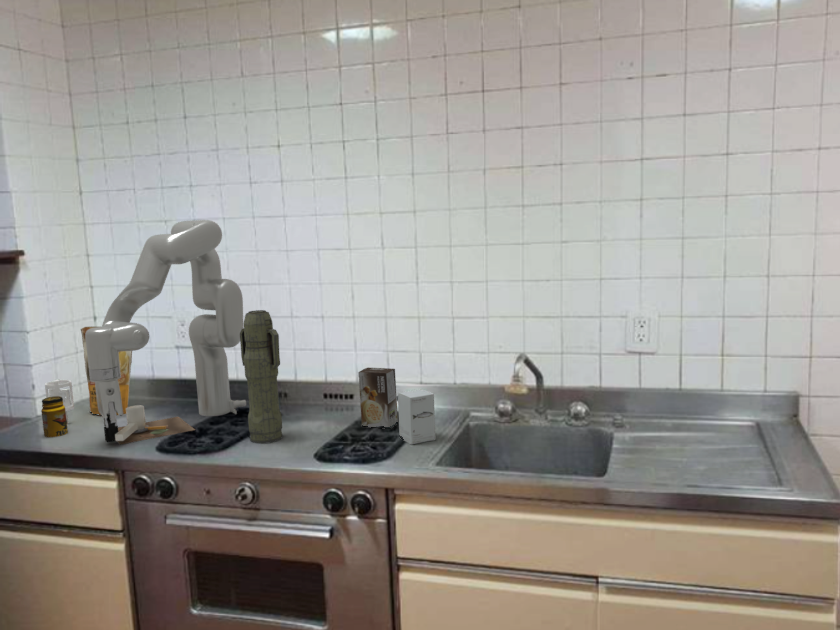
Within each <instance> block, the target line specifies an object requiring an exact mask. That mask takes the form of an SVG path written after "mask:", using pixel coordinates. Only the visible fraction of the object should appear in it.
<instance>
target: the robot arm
mask: <svg viewBox="0 0 840 630" xmlns="http://www.w3.org/2000/svg"><path fill="white" fill-rule="evenodd" d="M222 239H223V231H222V229H221V227H220V225H219V224H218V223H216V222H215V221H213V220H209V219H197V220H182V221H178V222H176V223H175V224H173V226H172V227H171V230H170V233H164V234H161V233H160V234H153V235H152V236H150V237H148V238H147V239H146V241H145V243H144V245H143V248H142V250H141V252H140V256H139V258H138V261H137V263H136V265H135V268H134V271H133V274H132V276H131V279H130V281H129V283H128V284H127V285H126V286H125V287H124V288H123V289H122V291H121V292H120V293H119V294H118V295H117V296H116V297H115V299H114V300H113V301H112V303H111V304H110V305H109V308H108V310H107V311H106V315H105V317H104V319H103V322H102V324H101V326H94V327H95V328H91V329H88V330H87V331H86V333H85V339H86V348H87V357H88V366H89V375H90V381H91V382H95V388H96V398H97V405H98V410H99V413H100V414H101V415H102V416H101V417H102V419H103V426H104V427H103V430H104V440H105V442H106V443H107V444H108V443H112V442H117V441H116V440H115V434H116V433H118V427H119V425H118V419H117V417H118V416H120V417H122V416H123V415H124V414H123V407H122V401H121V394H120V388H119V383H118V379H120V378H121V372H120V363H119V352H120V351H132V352H133V351H135V352H136V351H139V350H141V349H143V348H144V347H145V346H146V345H148V343H149V342H150V341H149V340H150V332H149V330H148V329H147V328H146V326H144V325H142V324H141V323H137V322H131V320H132V318H133V316H135V314H136V312H137V311H138V310H139V309H140V308H141V307H142V306H144V305H145V304H147V303H148V302H150V301H152V300H154V299H156V298H157V297H158V296H160V294H161V293H162V292H163V288H164V285H165V283H166V279H167V278H168V275H169V272H170V270H171V268H172V267H171V266H172V265H182V264H187V263H189V262H190V267H191V269H190V270H191V287H192V301H193V304H194V305H195V307H196V308H199V309H201V310H204V311H215V314H209V313H208V314H200V315H198V316H196V317H194V318H193V319H192V320H191V321H190V323H189V326H188V337H189V341H190V344H191V348H192V351H193V358H194V371H195V378H196V379H195V381H196V383H195V384H196V392H197V393H196V394H197V405H198V415H199V416H202V417H218V416H223V415H227V414H229V413H232V414H234V415H237V414H238V413H237V410H236V409H237V408H239V407H240V408H241V407H246V406H247V401H246V399H242V400H240V399H237V400H232V398H231V393H230V392H231V391H230V379H229V367H228V366H229V365H228V357H227V353H226V350H225V348H227V349H230V348H233V347H234V348H235V347H236V346H237V345H239V344H240V332H241V330H242V329H243V328H244V301H243V300H244V299H243V292H242V290H241V288H240V286H239V285H238V284H237V282H236V281H234V280H232V279H229V278H222V268H221V260H220V256H219V254H218V251H217V250H216V248H217V247H218V246H220V244H221V242H222ZM116 412H117V413H118V414H119V415H116Z"/></svg>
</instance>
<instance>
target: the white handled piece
mask: <svg viewBox="0 0 840 630" xmlns="http://www.w3.org/2000/svg"><path fill="white" fill-rule="evenodd" d="M125 416H126V424H127V425H124V426H125V427H124V428H123V429H122V430H120V431H119V432H118V433H116V434H115V440H116V441H115V442H117V441H124V440H125V439H126V438H127V437H129V436H130V435H131V434H134V433H141V432H145V431H147V430H153V429H166V426H154V427H149V426H148V425H146V422H147V421H146V413H145V406H144V405H140V404H136V405H130V406H128V407H127V408H126V414H125Z"/></svg>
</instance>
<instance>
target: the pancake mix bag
mask: <svg viewBox="0 0 840 630" xmlns="http://www.w3.org/2000/svg"><path fill="white" fill-rule="evenodd" d="M95 327H96V326H84V327H82V328H80V332H81V340H82V348H83V358H84V367H85V369H84V370H85V373H86V374H85V375H86V380H87V388H88V393H89V395H88V397H89V412H90V411H91V412H92V413H93V414H99V415H98V416H100V415H101V414H100V413H99V410H98V405H97V398H96V388H95V382H91V381H90V375H89V366H88V357H87V348H86V339H85V333H86V331H87V330H88V329H91V328H95ZM132 359H133V351H120V352H119V363H120V372H121V378H120V379H118V383H119V388H120V394H121V401H122V407H123V415H126V408H127V407H129V396H130V382H131V370H132V362H133V361H132ZM92 413H91V414H92ZM116 415H117V416H120V415H119V414H118V413H117V412H116Z"/></svg>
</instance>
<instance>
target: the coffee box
mask: <svg viewBox="0 0 840 630" xmlns="http://www.w3.org/2000/svg"><path fill="white" fill-rule="evenodd" d="M357 373H358V375H357V376H358V384H359V385H358V390H359V402H360V418H361V419H360V420H361V426H362V425H363V426H368V427H367V428H371V427H376V426H384V427H390V426H392V425H393V424H395V423H396V422H398V423H399V414H398V396H397V385H396V383H397V382H396V381H397V380H396V369H395V368H390V367H387V368H385V367H366V368H363V369H361V370H359V371H358V372H357Z"/></svg>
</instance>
